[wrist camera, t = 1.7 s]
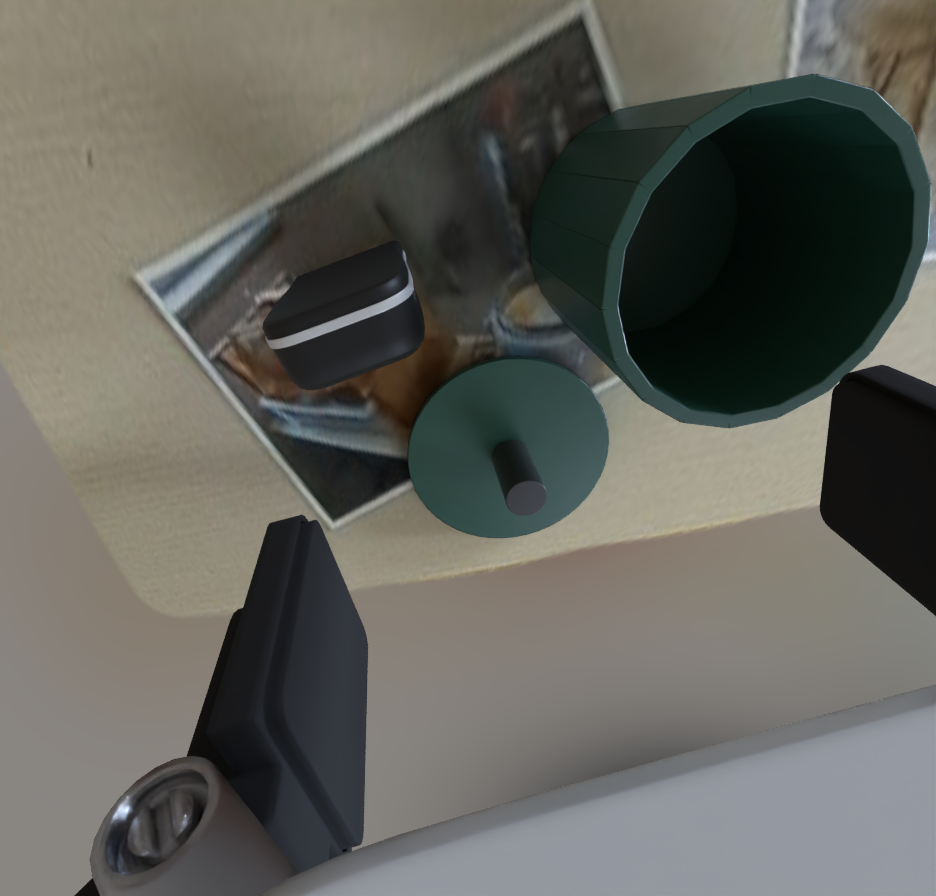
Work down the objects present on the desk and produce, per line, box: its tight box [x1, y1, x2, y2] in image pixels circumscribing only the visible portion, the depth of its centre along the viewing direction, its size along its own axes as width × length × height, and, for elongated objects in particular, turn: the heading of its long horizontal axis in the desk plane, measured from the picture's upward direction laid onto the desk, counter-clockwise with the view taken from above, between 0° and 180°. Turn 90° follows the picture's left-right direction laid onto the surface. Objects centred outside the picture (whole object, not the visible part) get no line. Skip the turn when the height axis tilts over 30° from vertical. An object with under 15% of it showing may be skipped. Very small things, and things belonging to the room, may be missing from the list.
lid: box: [408, 356, 609, 538], centre depth 37 cm, size 14×14×7 cm
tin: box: [530, 74, 932, 428], centre depth 28 cm, size 13×14×14 cm
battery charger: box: [263, 241, 425, 390], centre depth 29 cm, size 7×4×11 cm, turn 109°
